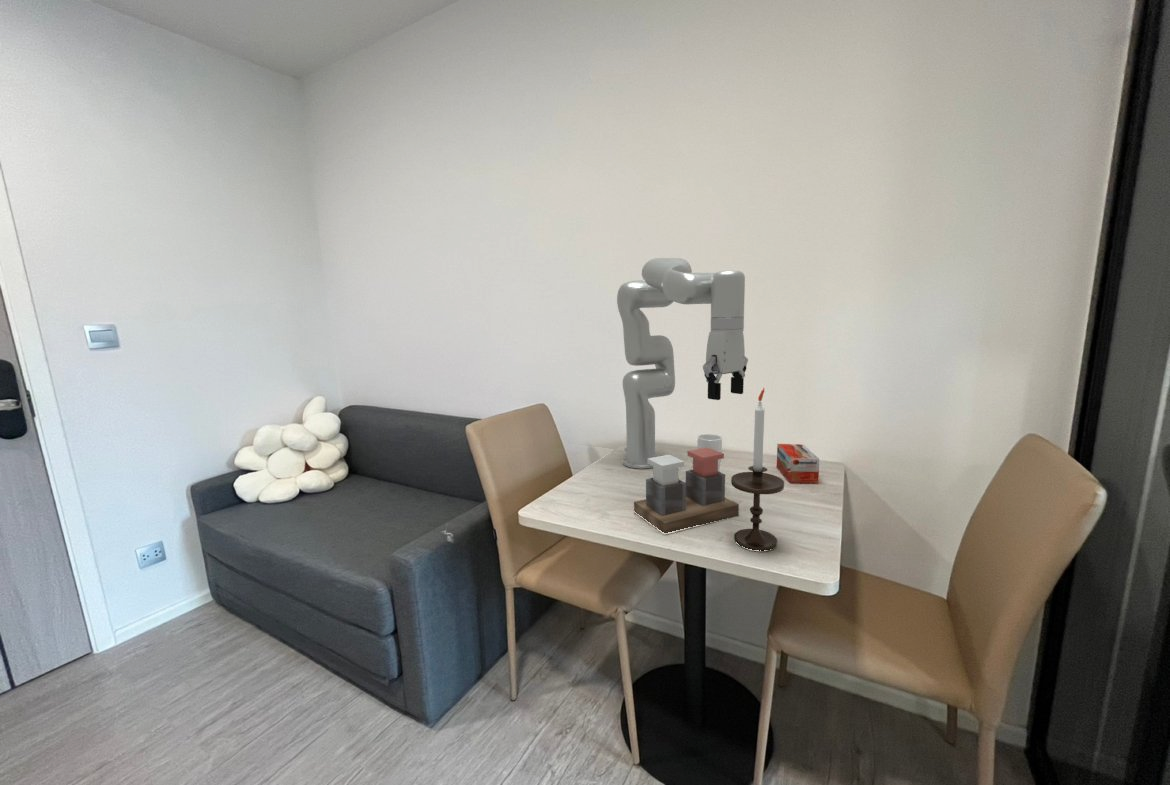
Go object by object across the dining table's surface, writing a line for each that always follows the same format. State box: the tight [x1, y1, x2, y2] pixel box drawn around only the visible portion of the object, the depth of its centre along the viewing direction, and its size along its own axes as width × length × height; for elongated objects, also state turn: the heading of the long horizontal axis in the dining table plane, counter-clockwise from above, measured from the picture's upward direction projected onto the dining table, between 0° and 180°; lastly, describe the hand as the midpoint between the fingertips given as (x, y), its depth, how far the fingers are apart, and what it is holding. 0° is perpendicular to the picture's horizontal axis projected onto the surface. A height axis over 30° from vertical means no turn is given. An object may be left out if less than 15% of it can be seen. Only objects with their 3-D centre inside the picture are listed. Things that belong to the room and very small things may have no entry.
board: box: [633, 469, 740, 533], centre depth 122 cm, size 14×22×10 cm, turn 115°
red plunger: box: [686, 447, 725, 477], centre depth 124 cm, size 6×6×8 cm
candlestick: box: [730, 387, 785, 551], centre depth 105 cm, size 11×11×35 cm
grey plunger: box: [647, 454, 685, 486], centre depth 119 cm, size 6×6×8 cm
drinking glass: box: [696, 433, 723, 472], centre depth 140 cm, size 7×7×15 cm
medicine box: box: [776, 443, 820, 485], centre depth 147 cm, size 15×8×8 cm, turn 174°
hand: (725, 396), depth 117 cm, fingers open, 9 cm apart
